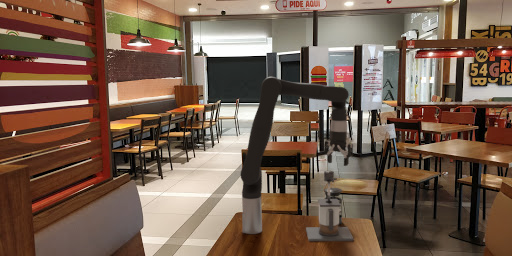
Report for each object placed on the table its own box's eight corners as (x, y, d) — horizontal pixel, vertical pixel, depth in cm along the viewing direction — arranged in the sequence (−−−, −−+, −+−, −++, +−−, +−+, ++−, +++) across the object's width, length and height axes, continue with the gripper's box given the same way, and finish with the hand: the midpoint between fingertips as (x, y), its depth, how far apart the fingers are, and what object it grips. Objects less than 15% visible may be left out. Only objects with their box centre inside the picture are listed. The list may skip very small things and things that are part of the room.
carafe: (320, 239, 181) (320, 207, 180) (317, 228, 194) (317, 199, 192) (341, 238, 181) (342, 207, 179) (337, 228, 193) (337, 198, 191)
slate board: (308, 241, 182) (308, 238, 182) (306, 229, 196) (306, 227, 196) (353, 240, 182) (353, 238, 181) (347, 229, 195) (347, 227, 195)
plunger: (324, 205, 185) (324, 173, 183) (323, 202, 189) (323, 170, 187) (334, 205, 185) (334, 173, 183) (332, 202, 189) (333, 170, 187)
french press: (343, 219, 209) (343, 176, 206) (344, 225, 200) (344, 180, 197) (320, 218, 211) (320, 175, 208) (320, 225, 202) (320, 180, 199)
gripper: (321, 129, 189) (320, 163, 191) (347, 132, 179) (346, 168, 182) (330, 127, 195) (329, 160, 197) (356, 130, 185) (355, 165, 187)
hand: (337, 164), depth 189 cm, fingers open, 8 cm apart
